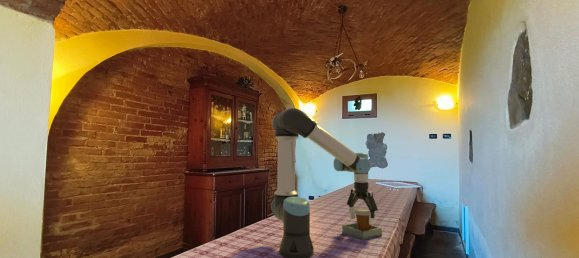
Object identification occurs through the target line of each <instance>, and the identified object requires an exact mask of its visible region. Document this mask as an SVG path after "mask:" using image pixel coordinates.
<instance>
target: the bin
mask: <svg viewBox="0 0 579 258" xmlns="http://www.w3.org/2000/svg"><path fill="white" fill-rule="evenodd" d="M341 229H342V230H341V231H342V234H345V235H347V236H351V237H353V238H356V239H359V240H361V241H366V240H370V239H373V238H378V237H382V236H383V228H382V227H380V226H376V225H374V224H372V226H371V230H366V231H360V230H358V225H357V222H353V223H348V224H347V223H346V224H342V228H341Z"/></svg>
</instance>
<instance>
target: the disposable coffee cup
mask: <svg viewBox="0 0 579 258" xmlns="http://www.w3.org/2000/svg"><path fill="white" fill-rule="evenodd" d="M369 211H370V210H369V208H355V218H356V223H357V225H358V230H360V231H366V230H371V226H372V225H373V224H372V225H369Z"/></svg>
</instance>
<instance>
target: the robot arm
mask: <svg viewBox="0 0 579 258" xmlns="http://www.w3.org/2000/svg"><path fill="white" fill-rule="evenodd" d="M272 129H273V130H274V138H275V139H276V140H277V182H276V183H277V186H276V187H277V189H276V190H275V191H274V193H273V196H274V197H273V200H272V201H271V205H270V207H271V212H272V214H273V215H274V217H275V218H277V219H278V221H279V220H280V221H281V222H282V223H283V228H282V230H283V235H282V238H281V242H280V244H279V250H278V251H279V255H281V256H282V257H283V258H311V257H312V256H314V252H315V250H314V244H313V241H312V239H311V235H310V227H311V222H310V221H311V217H310V215H311V213H310V212H311V207H310V202H309V200H308V199H306V198H304V197H300V196H299V192H297V190H296V141H297V140H298V138H299V136H301V137H302V138H304V139H308V140H310V141H312V143H314V144H315V145H317V146H318V147H320V148H321V149H323V150H324V151H325V152H327V153H328V154H329V155H331V156H333V158H334V159H333V168H334V170H335V171H336V172H347V173H348V172H349V173H353V178H354V179H353V181H354V182H353V188H351V189H350V192H349V193H350V194H349V196H348V200H347V201H346V205H347V206H348V207H349V215H350V216H349V217H350V220H354V219H355V218H356V214H355V210H356V208H355V204H356V203H357V201H358V200H359V199H360V200H363V202H364V203H365V205H366V206H367V209H369V210H370V211H369V225H374V224H375V212H377V211H379V209H378V206H377V204H376V200H375V198H374V193H373V191H368V189H369V172H370V170H371V167H372V164H371V161H370V160H369V155H368V153H366V152H354V151H353V150H352V149H351V148H349V147H348V146H346V145H345V144H344V143H342V142H341V141H339V139H337V138H336V137H334V136H333V135H332V134H330V133H329V132H328V131H327V130H325V129H324V128H322V127H321V126H320V125H318V121H317V120H316V119H314V118H313V117H311V116H310V115H309V114H307V113H306V112H304V111H303V110H301V109H299V108H295V107H294V108H293V107H292V108H288V109H283V110H280V111H279V112H278V113H276V114H275V115H274V116H273V119H272Z"/></svg>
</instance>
